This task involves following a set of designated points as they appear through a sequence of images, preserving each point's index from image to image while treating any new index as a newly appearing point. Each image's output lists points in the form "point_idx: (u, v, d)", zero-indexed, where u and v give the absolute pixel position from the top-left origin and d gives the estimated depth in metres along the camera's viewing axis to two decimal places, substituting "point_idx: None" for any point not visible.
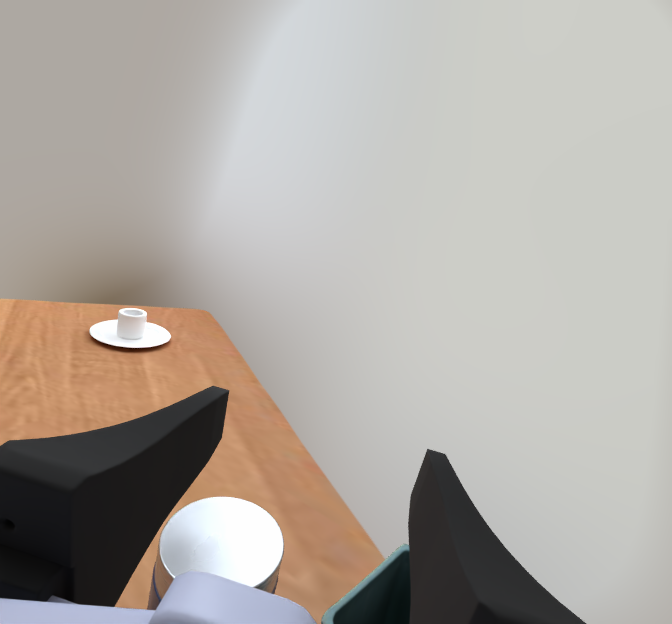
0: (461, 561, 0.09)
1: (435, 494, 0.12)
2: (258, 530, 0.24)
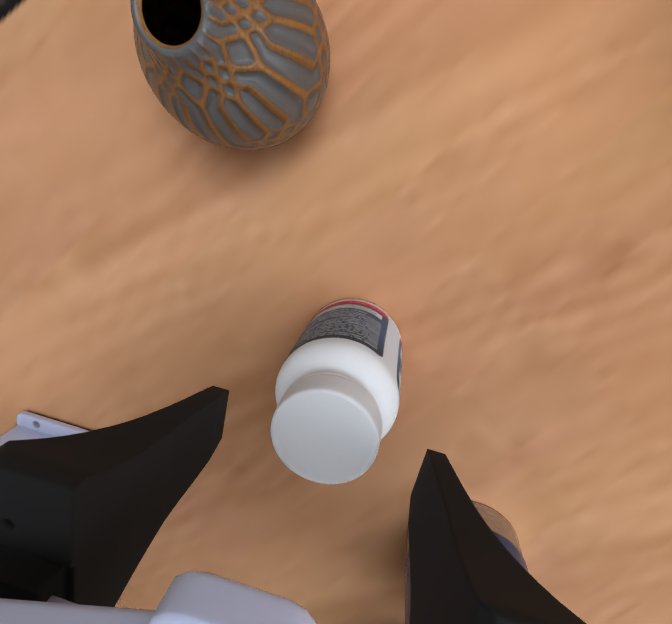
0: (461, 561, 0.09)
1: (435, 494, 0.12)
2: None
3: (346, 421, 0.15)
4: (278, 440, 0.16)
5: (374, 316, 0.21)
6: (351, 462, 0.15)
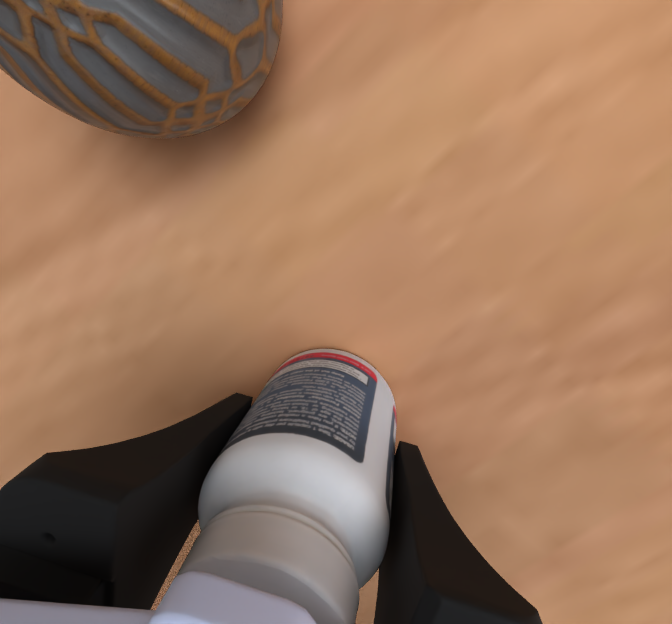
0: (416, 547, 0.09)
1: (402, 484, 0.12)
2: None
3: None
4: None
5: (355, 381, 0.14)
6: None
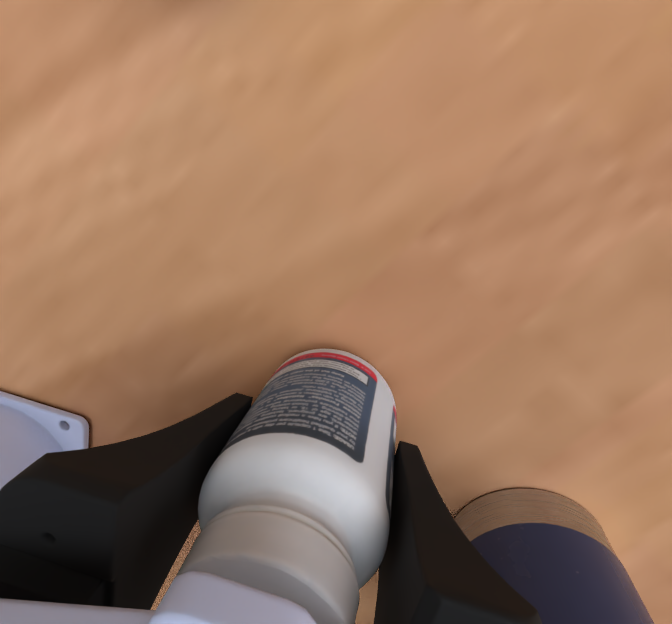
0: (416, 547, 0.09)
1: (402, 484, 0.12)
2: None
3: None
4: None
5: (355, 380, 0.14)
6: None
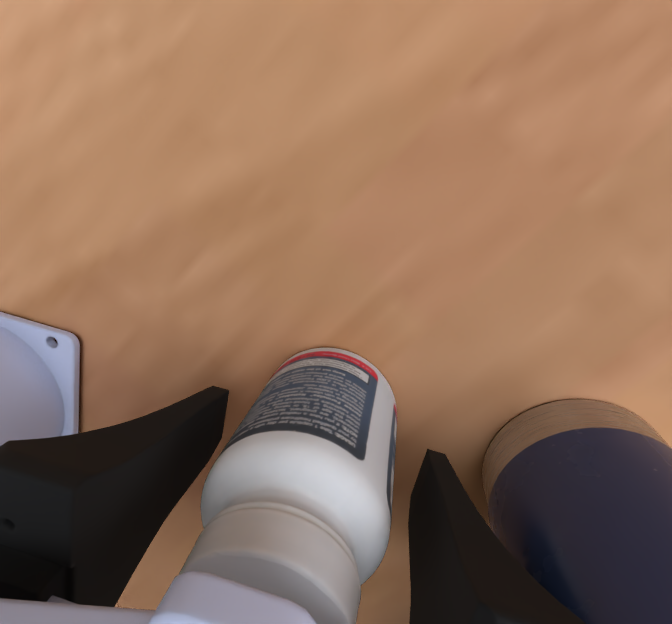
0: (461, 561, 0.09)
1: (435, 494, 0.12)
2: None
3: (296, 603, 0.09)
4: None
5: (356, 379, 0.14)
6: None
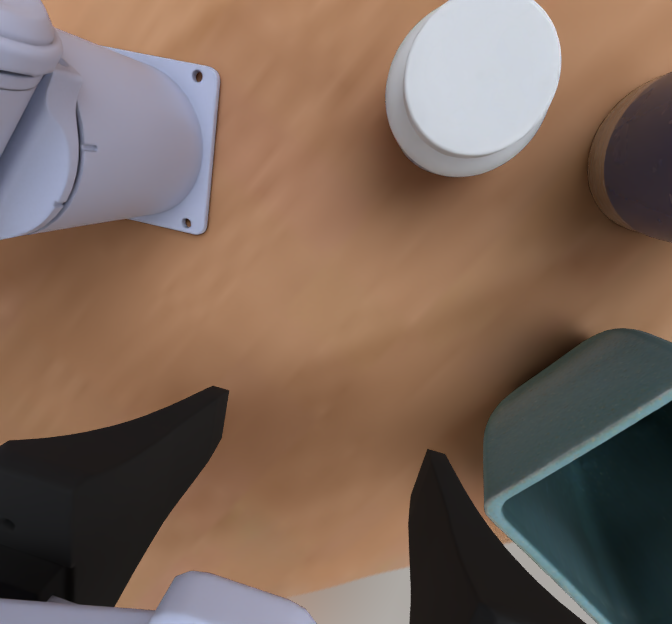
0: (461, 561, 0.09)
1: (435, 494, 0.12)
2: None
3: (517, 37, 0.11)
4: (415, 89, 0.12)
5: None
6: (518, 109, 0.11)
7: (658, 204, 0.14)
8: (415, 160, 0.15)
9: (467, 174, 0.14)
